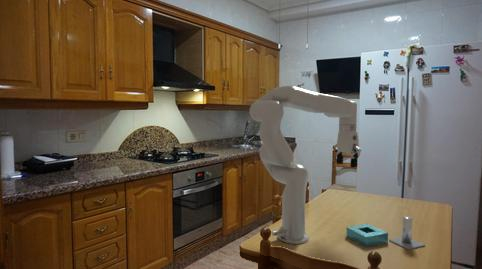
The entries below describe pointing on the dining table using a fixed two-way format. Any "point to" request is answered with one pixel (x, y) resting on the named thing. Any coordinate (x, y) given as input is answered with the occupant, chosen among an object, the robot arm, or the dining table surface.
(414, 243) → the grey rubber mat
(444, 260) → the dining table surface
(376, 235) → the teal socket block
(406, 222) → the steel key rod
